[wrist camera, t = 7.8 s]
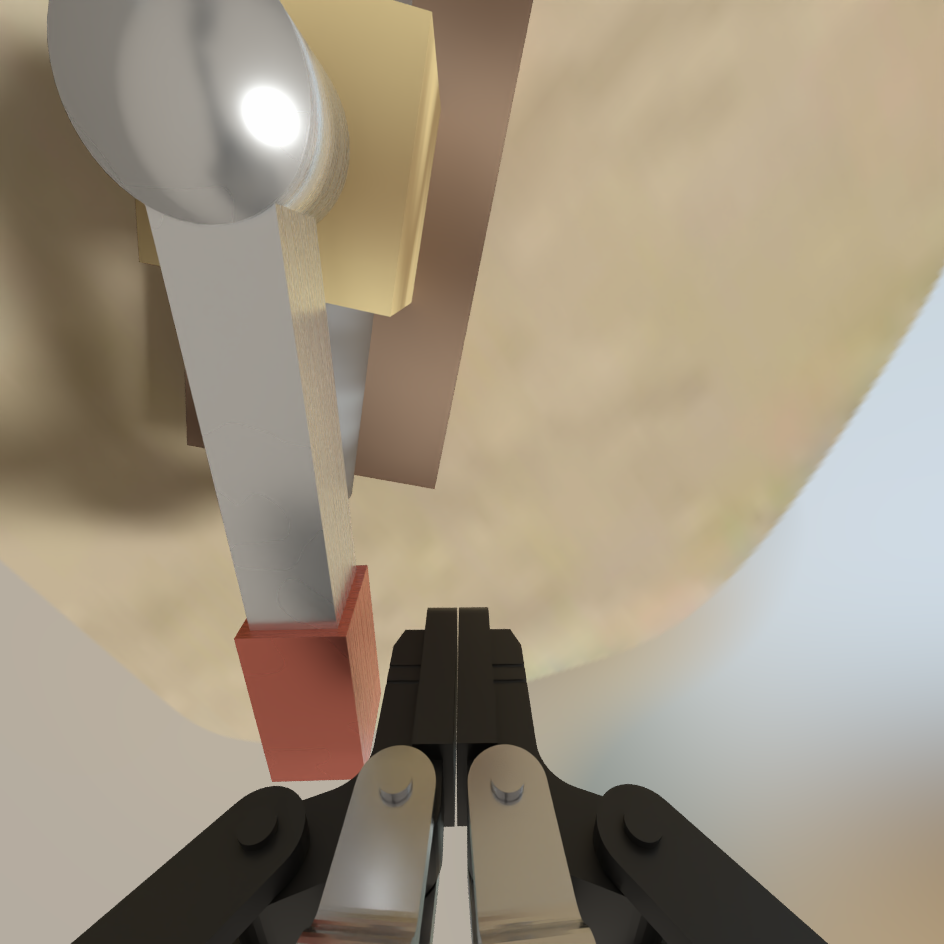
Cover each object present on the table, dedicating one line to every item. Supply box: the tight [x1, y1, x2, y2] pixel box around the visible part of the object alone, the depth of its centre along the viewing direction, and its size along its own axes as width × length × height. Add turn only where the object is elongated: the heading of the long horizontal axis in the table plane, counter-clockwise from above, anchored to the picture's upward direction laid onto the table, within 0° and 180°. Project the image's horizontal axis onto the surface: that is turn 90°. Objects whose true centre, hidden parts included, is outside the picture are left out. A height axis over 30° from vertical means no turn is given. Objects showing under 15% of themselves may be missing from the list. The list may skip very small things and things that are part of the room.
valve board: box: [135, 0, 533, 499], centre depth 11 cm, size 16×8×7 cm, turn 168°
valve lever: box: [47, 0, 381, 782], centre depth 8 cm, size 13×3×2 cm, turn 0°
